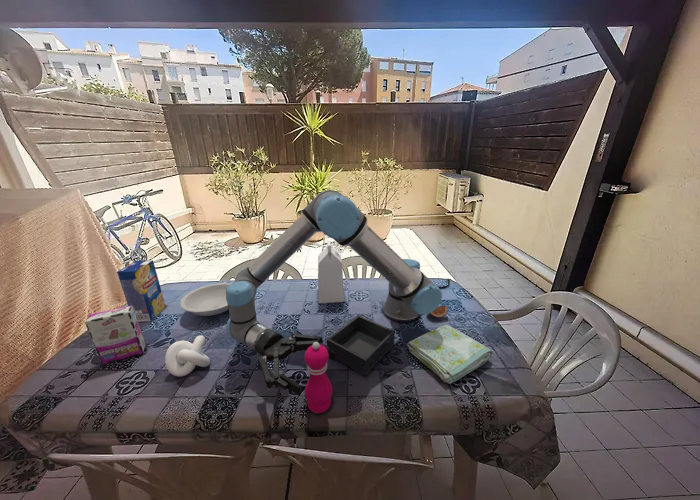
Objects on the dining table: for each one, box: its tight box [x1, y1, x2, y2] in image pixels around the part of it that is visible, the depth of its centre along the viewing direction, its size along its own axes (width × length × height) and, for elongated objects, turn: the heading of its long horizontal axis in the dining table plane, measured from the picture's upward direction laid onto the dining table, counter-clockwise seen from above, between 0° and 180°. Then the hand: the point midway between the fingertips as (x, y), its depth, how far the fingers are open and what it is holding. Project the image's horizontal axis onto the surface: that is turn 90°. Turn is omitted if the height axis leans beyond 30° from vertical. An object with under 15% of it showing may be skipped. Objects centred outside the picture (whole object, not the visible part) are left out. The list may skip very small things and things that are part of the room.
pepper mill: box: [304, 342, 333, 414], centre depth 70 cm, size 7×7×20 cm
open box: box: [326, 315, 396, 377], centre depth 92 cm, size 18×16×6 cm
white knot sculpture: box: [164, 334, 211, 378], centre depth 85 cm, size 11×12×9 cm
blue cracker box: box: [116, 259, 167, 323], centre depth 110 cm, size 7×11×22 cm, turn 7°
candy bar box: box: [84, 305, 147, 365], centre depth 88 cm, size 11×5×16 cm, turn 117°
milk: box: [317, 240, 345, 304], centre depth 122 cm, size 12×12×26 cm
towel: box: [406, 324, 493, 385], centre depth 89 cm, size 18×21×5 cm
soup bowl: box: [179, 282, 233, 317], centre depth 116 cm, size 24×24×7 cm
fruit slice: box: [428, 305, 449, 319], centre depth 110 cm, size 8×7×5 cm
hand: (319, 372), depth 69 cm, fingers open, 13 cm apart
